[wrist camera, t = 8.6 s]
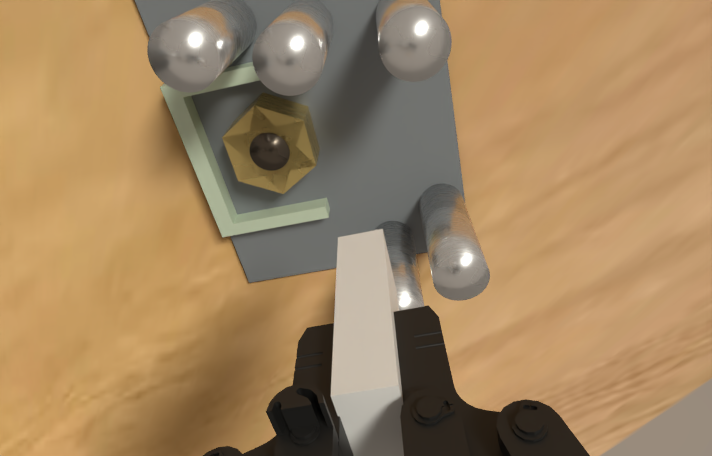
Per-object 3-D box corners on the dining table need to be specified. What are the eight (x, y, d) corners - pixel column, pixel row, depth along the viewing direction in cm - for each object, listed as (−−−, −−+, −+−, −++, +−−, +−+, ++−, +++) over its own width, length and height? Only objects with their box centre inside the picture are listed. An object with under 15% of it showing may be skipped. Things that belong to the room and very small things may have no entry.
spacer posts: (291, 274, 35) (272, 358, 28) (195, 2, 26) (135, 28, 19) (468, 243, 34) (495, 325, 27) (430, -56, 25) (455, -50, 18)
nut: (253, 182, 32) (245, 201, 29) (224, 100, 29) (212, 114, 27) (325, 168, 31) (322, 187, 29) (302, 83, 28) (296, 96, 26)
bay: (226, 227, 33) (222, 237, 32) (167, 81, 28) (159, 87, 27) (329, 208, 32) (328, 217, 31) (286, 54, 28) (283, 58, 27)
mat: (250, 279, 36) (249, 282, 36) (126, -28, 26) (123, -28, 26) (469, 241, 34) (470, 244, 34) (425, -106, 24) (426, -107, 24)
